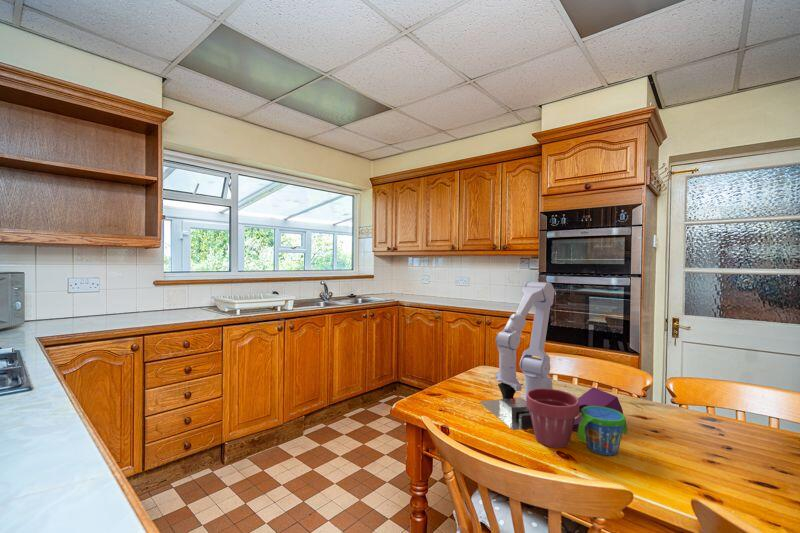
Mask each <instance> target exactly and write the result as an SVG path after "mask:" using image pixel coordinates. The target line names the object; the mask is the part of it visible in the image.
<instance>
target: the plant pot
mask: <svg viewBox="0 0 800 533" xmlns="http://www.w3.org/2000/svg"><path fill="white" fill-rule="evenodd" d="M578 398H579V397H578ZM578 398H577V396H575V395H574V394H572V393H570V392H567V391H564V390H561V389H554V388H553V389H546V388H538V389H532V390H530V391H528V392H527V397H526V399H525V401H526V406H527V408H528V409H529V410H530V415H531V420H532V424H533V428H532V429H533V433H534V438H535V440H536V441H537V442H538V443H540V444H541V445H543V446H546V447H550V448H556V449H557V448H558V449H560V448H561V449H562V448H566V447H568V446H569V445H570V441H571V437H572V434H573V430H572V429H573V425H574V421H575V419H576V418H577V417H578V416H580V415H579V414H580V413H579V400H578Z"/></svg>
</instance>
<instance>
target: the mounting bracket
mask: <svg viewBox="0 0 800 533" xmlns="http://www.w3.org/2000/svg"><path fill="white" fill-rule="evenodd" d="M578 400H579V414H580V415H578V416H577V417H575V421H574V425H573V429H572V431H578V427H579V423H580V420H581V418H582V415H581V409H582V408H583V407H586V406H600V407H606V408H610V409H613V410H616V411H618V412H620V413H622V414H623V415H624V412H623V411H624V410H623V407H622V405H621V402H620V400H619V398H618V396H616V395H614V394H611V393H609V392H606V391H604V390H601V389H599V388H596V387H591V388H590V389H589V390H587V391H586V392H584V393H583V394H581V396H579V397H578Z"/></svg>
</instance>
